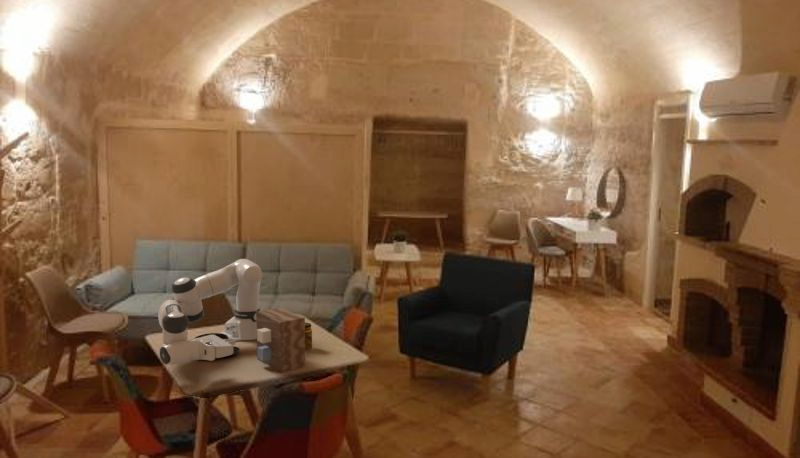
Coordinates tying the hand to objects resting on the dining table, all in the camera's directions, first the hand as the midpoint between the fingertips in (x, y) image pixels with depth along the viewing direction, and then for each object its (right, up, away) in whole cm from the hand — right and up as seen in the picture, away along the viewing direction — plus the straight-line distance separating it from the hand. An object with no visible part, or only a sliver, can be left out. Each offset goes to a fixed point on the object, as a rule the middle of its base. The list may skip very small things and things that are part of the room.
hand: (234, 341), depth 264 cm
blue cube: (+11, -9, +10) cm, 18 cm away
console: (+17, -12, +16) cm, 26 cm away
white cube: (+11, -1, +9) cm, 15 cm away
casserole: (-17, -11, +25) cm, 32 cm away
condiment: (+24, -10, +36) cm, 44 cm away
